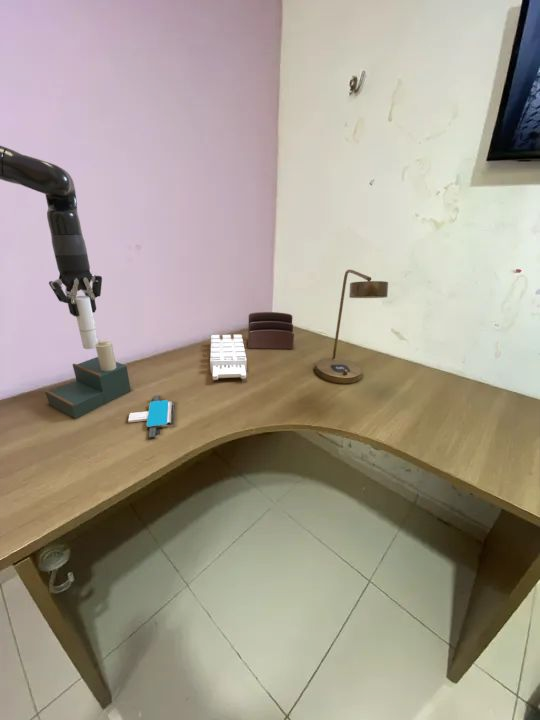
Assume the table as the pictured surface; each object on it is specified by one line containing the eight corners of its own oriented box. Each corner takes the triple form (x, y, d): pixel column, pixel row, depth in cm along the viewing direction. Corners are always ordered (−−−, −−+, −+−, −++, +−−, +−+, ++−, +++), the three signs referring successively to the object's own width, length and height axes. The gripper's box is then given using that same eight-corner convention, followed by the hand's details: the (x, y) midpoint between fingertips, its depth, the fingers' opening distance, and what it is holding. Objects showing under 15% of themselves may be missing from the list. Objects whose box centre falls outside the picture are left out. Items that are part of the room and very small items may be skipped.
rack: (49, 404, 91) (40, 375, 87) (105, 379, 105) (99, 354, 101) (75, 418, 85) (67, 388, 81) (130, 390, 100) (126, 364, 95)
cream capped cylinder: (97, 368, 93) (91, 341, 89) (110, 363, 97) (105, 336, 93) (106, 372, 91) (100, 344, 87) (119, 367, 95) (114, 339, 91)
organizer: (241, 334, 137) (248, 370, 105) (241, 344, 139) (248, 383, 107) (211, 334, 134) (209, 371, 103) (211, 345, 137) (210, 384, 105)
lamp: (332, 400, 100) (350, 280, 83) (310, 363, 124) (321, 265, 108) (381, 398, 102) (408, 281, 86) (351, 362, 126) (367, 266, 110)
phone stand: (134, 399, 95) (133, 395, 94) (174, 396, 98) (174, 391, 97) (123, 442, 77) (122, 437, 77) (173, 436, 80) (172, 431, 80)
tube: (101, 346, 94) (91, 298, 88) (86, 350, 91) (74, 300, 85) (96, 342, 97) (86, 295, 91) (81, 345, 94) (69, 297, 88)
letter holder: (248, 340, 144) (248, 310, 138) (290, 341, 145) (292, 312, 139) (247, 348, 135) (248, 317, 129) (293, 349, 136) (295, 318, 130)
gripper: (87, 249, 90) (99, 306, 97) (33, 252, 79) (51, 317, 86) (104, 251, 87) (114, 310, 94) (50, 255, 75) (66, 322, 83)
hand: (84, 313), depth 90 cm, fingers closed on tube, 4 cm apart
